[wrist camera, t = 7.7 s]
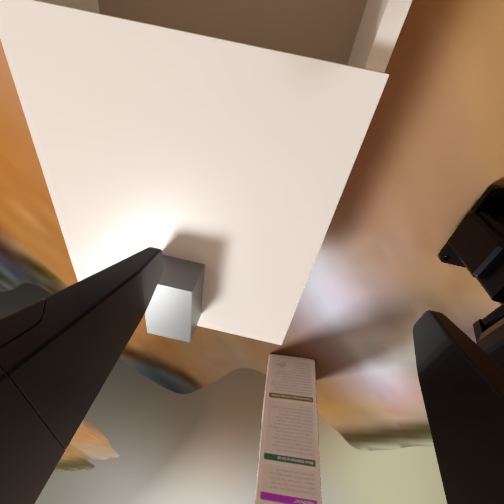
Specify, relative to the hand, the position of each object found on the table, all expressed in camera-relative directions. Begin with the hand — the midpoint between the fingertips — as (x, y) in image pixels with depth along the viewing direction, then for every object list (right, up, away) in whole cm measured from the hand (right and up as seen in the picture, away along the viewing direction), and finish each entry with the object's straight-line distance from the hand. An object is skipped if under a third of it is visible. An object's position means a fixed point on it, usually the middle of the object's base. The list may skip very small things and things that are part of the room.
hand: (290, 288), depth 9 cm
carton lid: (-5, +3, +7) cm, 10 cm away
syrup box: (+4, -14, +26) cm, 30 cm away
